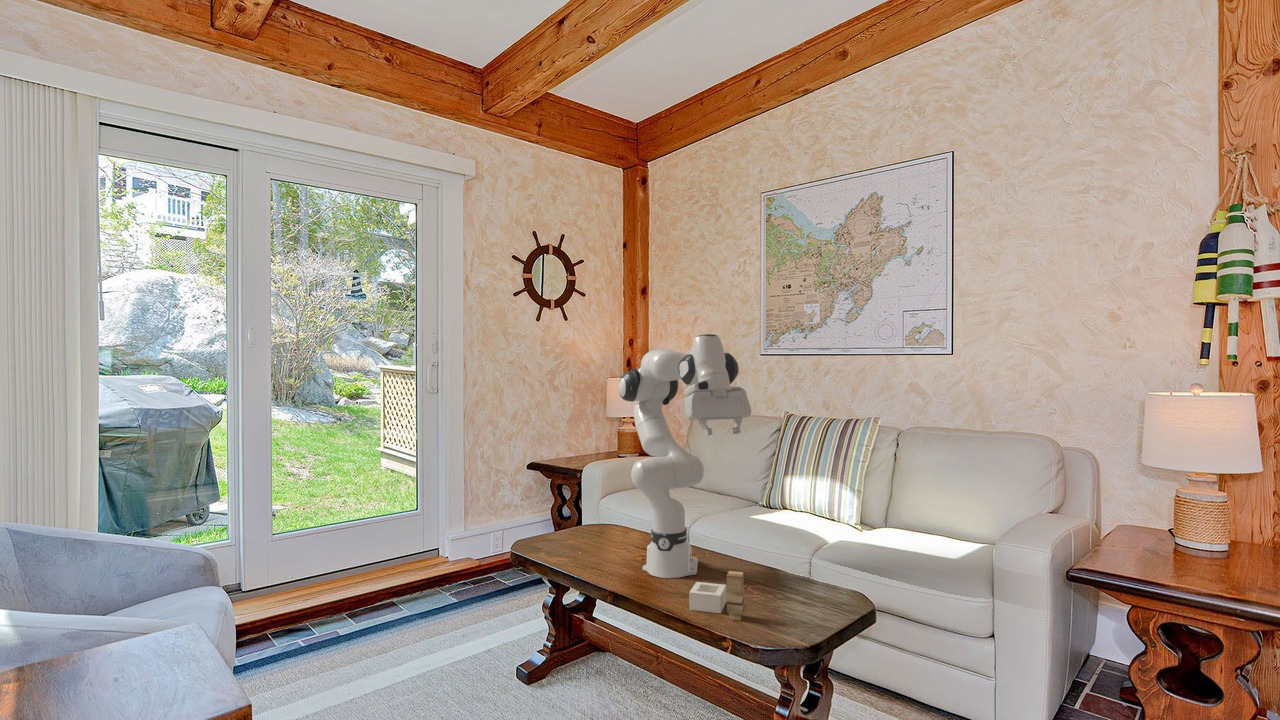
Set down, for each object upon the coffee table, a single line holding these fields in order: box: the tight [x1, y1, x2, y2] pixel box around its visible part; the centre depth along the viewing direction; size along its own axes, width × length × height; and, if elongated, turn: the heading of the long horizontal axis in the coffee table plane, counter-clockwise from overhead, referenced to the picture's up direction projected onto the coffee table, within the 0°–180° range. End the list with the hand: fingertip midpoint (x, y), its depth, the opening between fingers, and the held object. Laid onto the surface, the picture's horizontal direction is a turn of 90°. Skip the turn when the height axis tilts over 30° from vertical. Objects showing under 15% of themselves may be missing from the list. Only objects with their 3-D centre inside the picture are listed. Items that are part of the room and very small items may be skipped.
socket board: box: [688, 581, 727, 614], centre depth 184 cm, size 9×9×5 cm
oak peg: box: [726, 570, 745, 621], centre depth 176 cm, size 4×4×12 cm
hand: (723, 434), depth 180 cm, fingers open, 8 cm apart
